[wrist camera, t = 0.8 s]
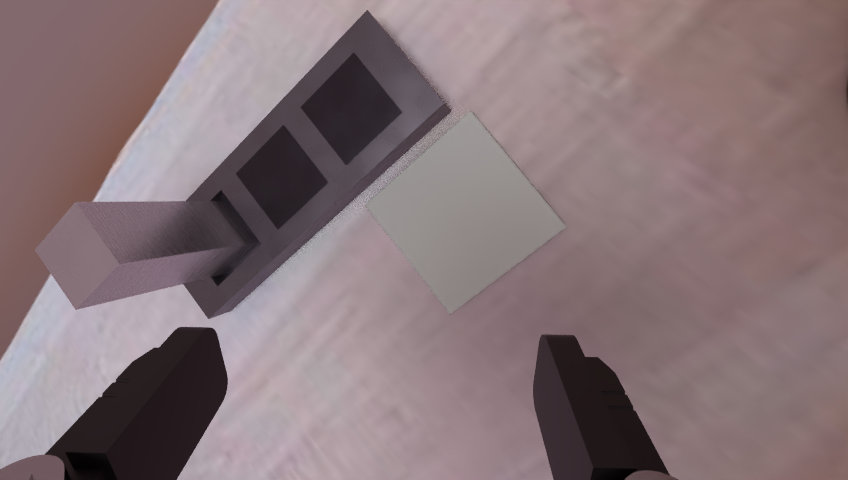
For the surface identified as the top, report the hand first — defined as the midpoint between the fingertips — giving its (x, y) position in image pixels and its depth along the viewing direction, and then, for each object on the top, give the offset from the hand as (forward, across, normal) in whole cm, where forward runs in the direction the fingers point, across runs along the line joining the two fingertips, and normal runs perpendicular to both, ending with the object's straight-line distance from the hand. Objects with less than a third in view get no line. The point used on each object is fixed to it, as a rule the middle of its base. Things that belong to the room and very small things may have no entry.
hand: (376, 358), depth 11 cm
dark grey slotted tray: (+23, +9, +2) cm, 25 cm away
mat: (+20, -3, +4) cm, 20 cm away
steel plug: (+23, +14, +7) cm, 28 cm away
